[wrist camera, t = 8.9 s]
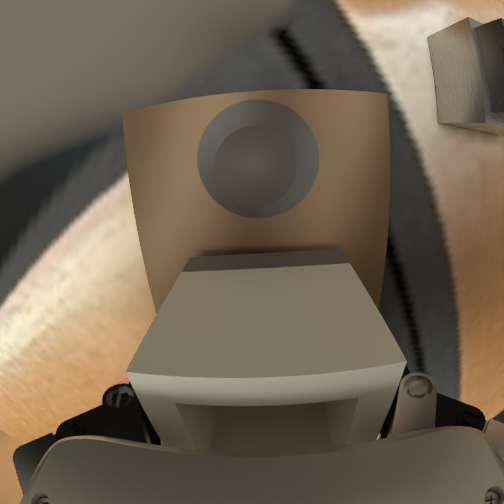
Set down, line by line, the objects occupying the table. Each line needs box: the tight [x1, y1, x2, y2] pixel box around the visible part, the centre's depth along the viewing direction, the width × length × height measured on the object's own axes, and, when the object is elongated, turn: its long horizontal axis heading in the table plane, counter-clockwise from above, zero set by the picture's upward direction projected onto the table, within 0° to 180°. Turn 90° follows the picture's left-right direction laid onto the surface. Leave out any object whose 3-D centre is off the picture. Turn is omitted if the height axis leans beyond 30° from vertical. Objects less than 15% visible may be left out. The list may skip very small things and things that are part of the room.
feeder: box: [427, 17, 504, 136], centre depth 8 cm, size 5×5×6 cm
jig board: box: [122, 89, 390, 313], centre depth 12 cm, size 12×13×5 cm
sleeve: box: [126, 249, 407, 452], centre depth 10 cm, size 6×6×7 cm
